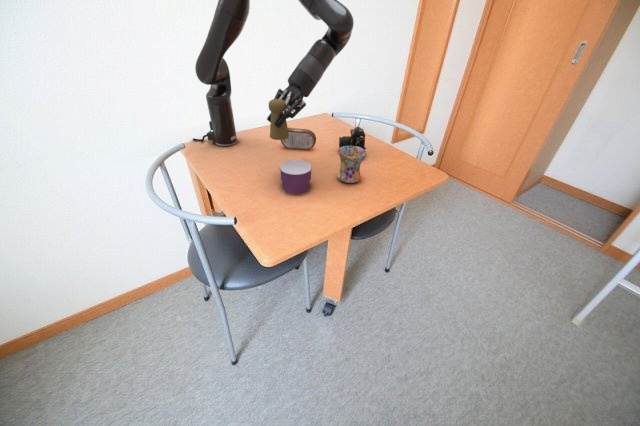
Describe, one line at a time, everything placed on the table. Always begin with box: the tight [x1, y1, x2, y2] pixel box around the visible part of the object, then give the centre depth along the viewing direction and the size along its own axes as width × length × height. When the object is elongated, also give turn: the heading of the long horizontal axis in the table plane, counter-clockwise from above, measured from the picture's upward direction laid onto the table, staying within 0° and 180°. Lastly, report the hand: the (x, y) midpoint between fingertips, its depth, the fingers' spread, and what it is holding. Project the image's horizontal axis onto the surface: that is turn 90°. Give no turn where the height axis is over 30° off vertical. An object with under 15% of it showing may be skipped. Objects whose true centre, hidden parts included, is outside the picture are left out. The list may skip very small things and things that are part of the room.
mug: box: [336, 146, 367, 184], centre depth 95 cm, size 12×9×11 cm
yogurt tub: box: [278, 159, 313, 195], centre depth 89 cm, size 10×10×8 cm
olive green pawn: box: [268, 98, 289, 141], centre depth 82 cm, size 6×6×11 cm
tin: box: [280, 127, 317, 151], centre depth 114 cm, size 15×3×8 cm, turn 84°
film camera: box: [338, 126, 367, 151], centre depth 113 cm, size 18×12×10 cm
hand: (272, 123), depth 82 cm, fingers closed on olive green pawn, 4 cm apart
